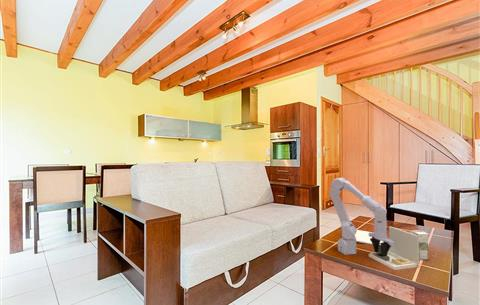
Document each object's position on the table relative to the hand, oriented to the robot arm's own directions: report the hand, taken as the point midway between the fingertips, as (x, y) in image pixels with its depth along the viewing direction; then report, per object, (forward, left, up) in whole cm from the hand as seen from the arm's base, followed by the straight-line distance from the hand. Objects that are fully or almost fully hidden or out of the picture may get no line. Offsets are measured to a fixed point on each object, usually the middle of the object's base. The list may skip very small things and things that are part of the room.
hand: (380, 253), depth 123 cm
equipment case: (+3, -4, -4) cm, 6 cm away
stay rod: (0, 0, -3) cm, 3 cm away
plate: (+17, +30, -4) cm, 35 cm away
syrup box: (+24, -2, -4) cm, 24 cm away
